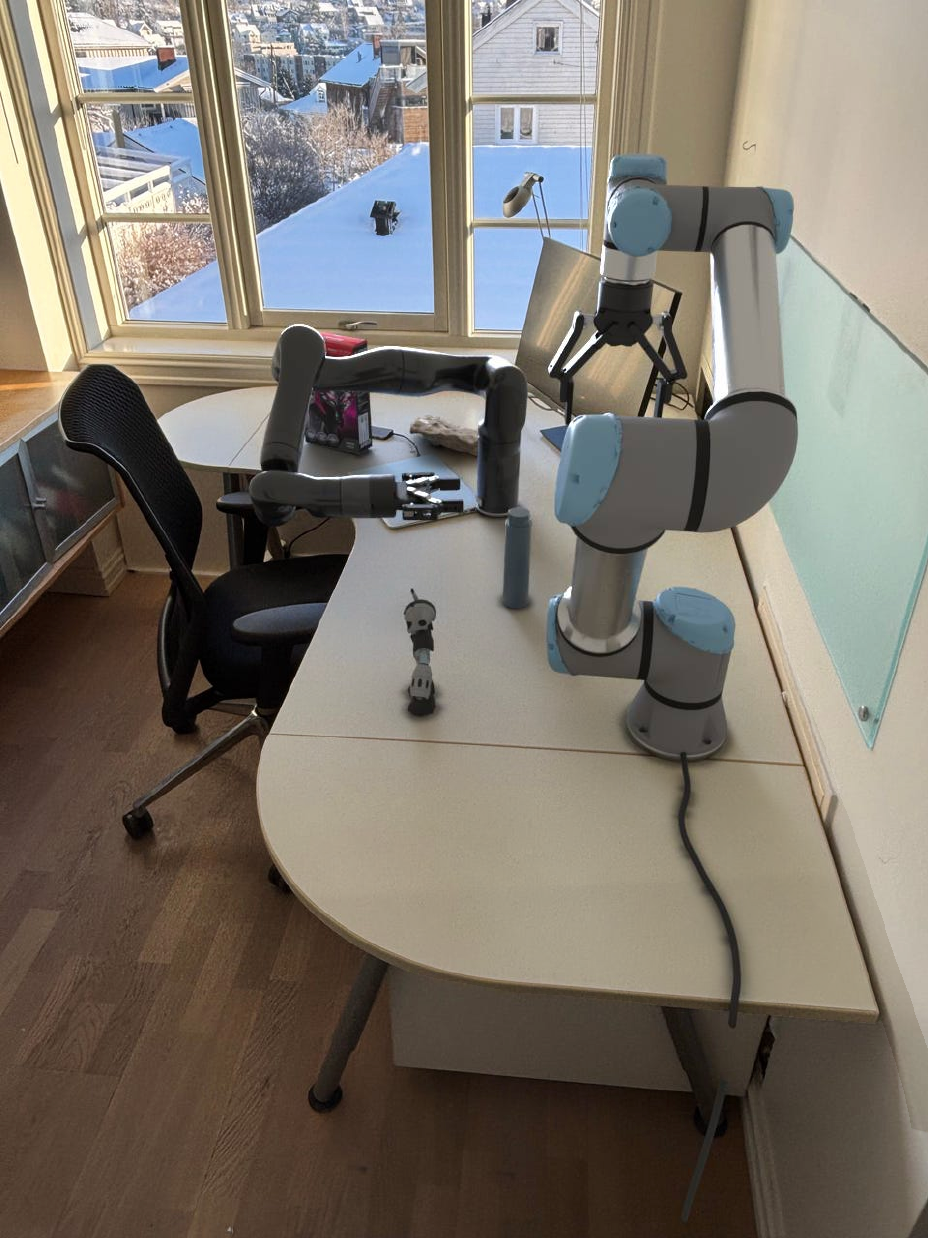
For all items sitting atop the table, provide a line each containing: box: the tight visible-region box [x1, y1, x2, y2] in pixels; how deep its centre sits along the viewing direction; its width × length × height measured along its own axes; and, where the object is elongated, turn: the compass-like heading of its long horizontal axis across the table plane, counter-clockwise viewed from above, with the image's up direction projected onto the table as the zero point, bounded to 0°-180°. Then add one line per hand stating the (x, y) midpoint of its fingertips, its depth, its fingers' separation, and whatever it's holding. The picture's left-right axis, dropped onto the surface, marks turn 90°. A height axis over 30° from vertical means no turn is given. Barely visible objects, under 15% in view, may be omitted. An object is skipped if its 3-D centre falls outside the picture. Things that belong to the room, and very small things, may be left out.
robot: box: [403, 588, 437, 717], centre depth 143 cm, size 20×5×20 cm, turn 3°
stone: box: [409, 414, 478, 457], centre depth 232 cm, size 21×15×6 cm
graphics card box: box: [304, 330, 374, 455], centre depth 226 cm, size 17×7×27 cm, turn 62°
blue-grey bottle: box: [502, 506, 533, 610], centre depth 168 cm, size 5×5×19 cm
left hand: (461, 494), depth 160 cm, fingers open, 8 cm apart
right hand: (612, 422), depth 140 cm, fingers open, 13 cm apart
